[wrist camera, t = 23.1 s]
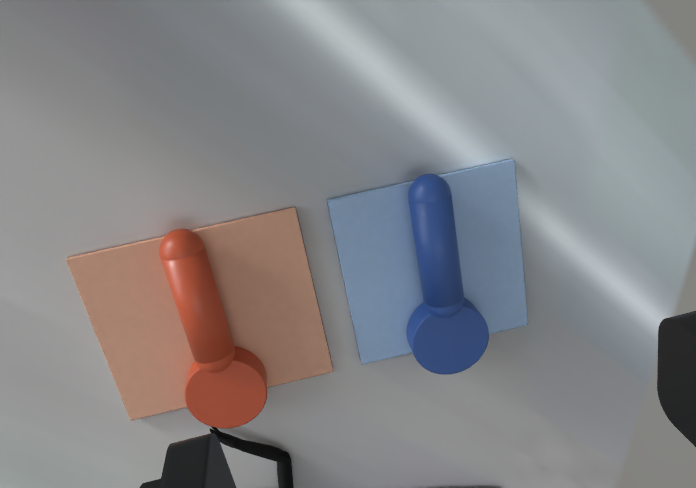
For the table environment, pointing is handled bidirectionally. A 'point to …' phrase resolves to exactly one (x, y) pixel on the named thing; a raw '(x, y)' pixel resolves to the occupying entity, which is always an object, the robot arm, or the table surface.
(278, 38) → the table surface
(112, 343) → the terracotta mat
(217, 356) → the terracotta spoon
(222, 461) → the robot arm
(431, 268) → the blue spoon
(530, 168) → the table surface
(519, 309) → the blue mat
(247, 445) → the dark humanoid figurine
